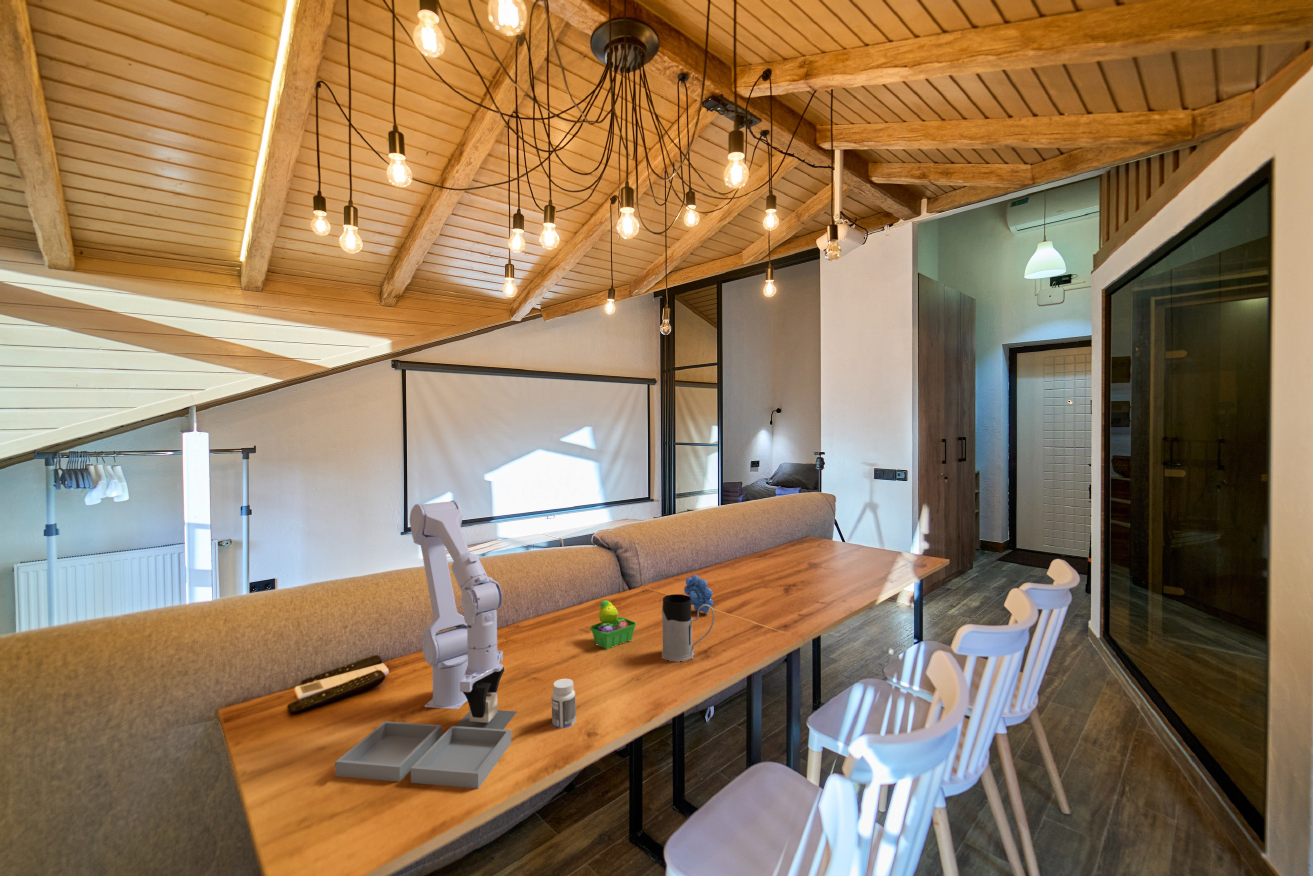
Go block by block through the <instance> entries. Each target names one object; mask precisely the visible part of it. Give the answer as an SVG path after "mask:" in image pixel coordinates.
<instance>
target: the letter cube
mask: <svg viewBox="0 0 1313 876" xmlns="http://www.w3.org/2000/svg"><path fill="white" fill-rule="evenodd" d="M468 707H469V708H468V709H469V712H468V713H469V714H470V721H472V722H487V723H489V722H490V720H491V719H492V718H493V717H494V716H495V715H496V713H497V712H498V710H499V709H498V692H497V693H494V692H488V693H487V697H486V705H485V713H484V716H483V717H482V718H476V717H473V716H472V713H471V710H470V706H469V705H468Z"/></svg>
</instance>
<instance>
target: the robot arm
mask: <svg viewBox="0 0 1313 876" xmlns="http://www.w3.org/2000/svg"><path fill="white" fill-rule="evenodd" d="M409 514H410V515H409V526H410V531H411V537H412V540H413V543H414V544H416V545H419V546H420V551H421V555H422V559H423V565H424V571H425V576H426V582H427V587H428V593H429V599H430V603H431V604H430V605H431V610H432V616H433V619H432V620H431V621H430V622H429V623H428V624H427V626H426V627H425V628H424V629H423V632H422V641H423V644H422V654H423V658H424V660H425V662H426V663H427V664H428V665H429V666H431V667H432V673H431V674H432V698H431V700H429V701H427V703H426V704H425V705H424V706H423V707H425V708H433V709H434V708H436V709H437V708H438V709H451V710H452V709H453V710H458V709H460V708H461V707H462V706H463V705H464V704H465V703H468V707H469V706H470V710H471V713H472V716H473V717H476V718H482V717H483V716H484V713H485V705H486V697H487V693H488V692H494V693H497V694H498V688H499V685H500V681H501V679H502V676H503V675H504V672H505V667H504V664H503V663H501V662H503V660H504V651H502V650H498V616H497V615H498V613H497V612H498V611H497V610H499V609H500V608H501V607H502V604H503V592H502V588H501V586H500V584H499V583H498V581H496V580H494V579H493V577H491V576H488V575H487V572H486V570H485V568H484V565H483V564H482V562H481V560H480V557H478V555H477V554H475V553H472V552H471V553H470V549H469V546H468V543H467V540H466V539H465V536H464V532H463V530H462V527H461V526H462V522H463V511H462V506H461V505H460V503H459V502H458V501H456V500H450V501H441V502H432V503H423V504H420V503H416V504H414V505H413V506H412V507H411V510H410V513H409ZM446 551H447V552H448V554H449V555H450V557H451V559H452V560H453V562H452V564H451V569H449V568H450V567H449V563H448V557H447V552H446ZM450 570H451V572H452V574H453V577H454V579H455V580H456V583H457V585H458V587H459V589H460V591H461V593H462V595H461V598H460V604H461V607H462V611H463V615H462V614H461V613H459V612H458V609H457V604H456V599H455V595H454V589H453V584H452V577H451V574H450ZM450 628H454V629H450ZM448 629H449V630H448ZM445 630H446V631H445ZM441 631H443V632H441ZM438 632H439V633H438Z"/></svg>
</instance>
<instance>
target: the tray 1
mask: <svg viewBox="0 0 1313 876" xmlns="http://www.w3.org/2000/svg"><path fill="white" fill-rule="evenodd" d="M442 735H443V725H442V724H433V723H432V724H430V723H416V722H402V721H390V720H389V721H388V720H385V721H383V722H382V723H381V724H379V725H378V726H377V727H376V728H374V729H373V730H372V731H371V732H369V733H368V734H367V735H366V736H365V737H363V739H361V740H360V741H359V742H358V743H356V744H355V745H354V746H352V748H350V749H349V750H348V751H346V752H345V753H344V754H343V755H341V756H340V757H339V758H338V759H337V760H336V761H335V762H334V763H335V766H334V768H335V770H334V771H335V775H334V776H335V777H342V778H343V777H344V778H353V779H365V780H377V781H387V782H389V781H390V782H401V781H402V780H404V779H405V778H406V776H407V775H408V774H410V773H411V767H412V766H413V765H414V764H415V763H416V762H417V761H418V760H419V759H420V758H421V757H422V756H423V755H424V754H425V753H426V752H427V751H428V750H429V749H430V748H431V747H432V746H433V745H434V744H435V742H436V741H437V740H438V739H439V738H440V737H441V736H442Z"/></svg>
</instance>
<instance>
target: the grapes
mask: <svg viewBox="0 0 1313 876" xmlns="http://www.w3.org/2000/svg"><path fill="white" fill-rule="evenodd" d="M683 591H684V595H687V596H689V597H691V606H693V609H694V611H695V612H696V611H698V608H699V607H700V606H701V605H704V604H706V605H709V606H711V607H712V608H713V606H714V600H713V599H712V597H713V594H714V593H713V590H712V589H711V588H709V587H708V582H707V581H706V580H705V579H704V578H699V576H698V575H697V574H693V575H692V576H691V577H687V578H686V579H685V586H684V588H683ZM699 611H701V612H702V613H703V612H704V613H703V614H708V613H709V612H710V608H709V607H707V606H703V607H701V608H700V610H699Z"/></svg>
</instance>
